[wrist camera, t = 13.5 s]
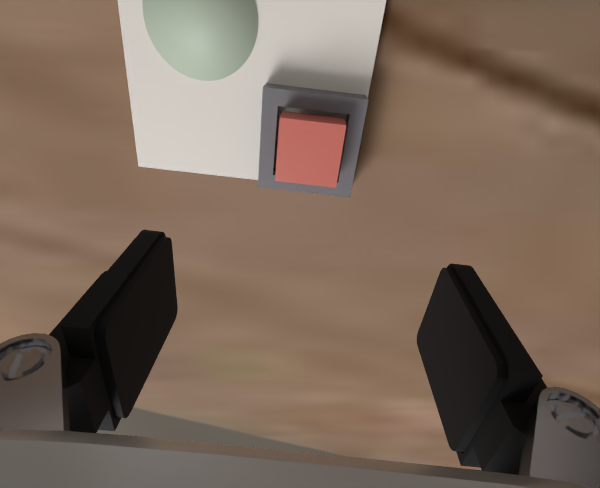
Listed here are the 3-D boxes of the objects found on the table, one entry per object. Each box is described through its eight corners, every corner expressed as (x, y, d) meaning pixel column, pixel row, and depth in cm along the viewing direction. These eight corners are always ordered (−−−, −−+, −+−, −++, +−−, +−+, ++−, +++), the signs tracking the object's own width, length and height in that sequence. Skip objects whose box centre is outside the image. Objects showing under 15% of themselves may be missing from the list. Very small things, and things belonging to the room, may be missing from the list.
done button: (277, 170, 26) (275, 180, 24) (282, 110, 23) (279, 117, 22) (334, 176, 26) (335, 187, 24) (344, 118, 24) (346, 125, 22)
